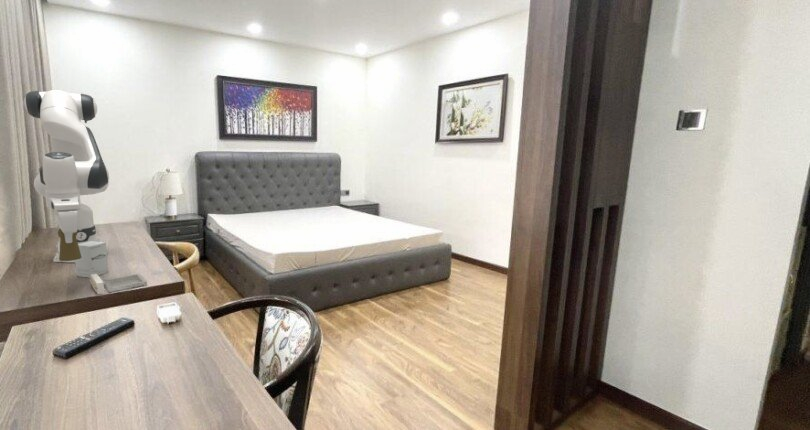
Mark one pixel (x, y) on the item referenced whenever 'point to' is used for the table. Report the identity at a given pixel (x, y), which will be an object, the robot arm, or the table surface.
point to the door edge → (97, 283)
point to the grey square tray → (124, 282)
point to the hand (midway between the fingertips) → (67, 240)
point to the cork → (68, 248)
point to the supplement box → (92, 259)
